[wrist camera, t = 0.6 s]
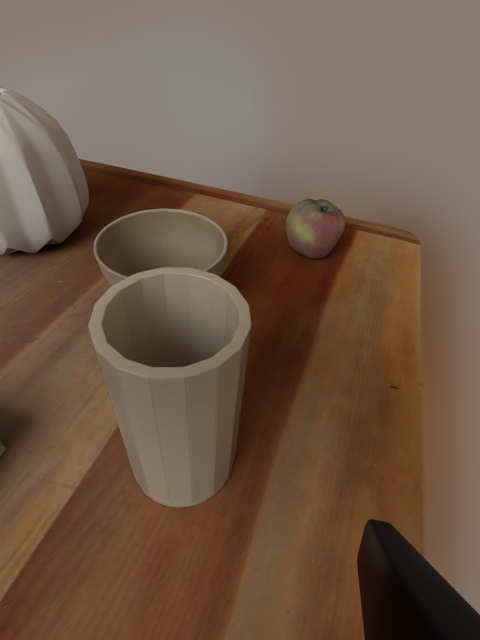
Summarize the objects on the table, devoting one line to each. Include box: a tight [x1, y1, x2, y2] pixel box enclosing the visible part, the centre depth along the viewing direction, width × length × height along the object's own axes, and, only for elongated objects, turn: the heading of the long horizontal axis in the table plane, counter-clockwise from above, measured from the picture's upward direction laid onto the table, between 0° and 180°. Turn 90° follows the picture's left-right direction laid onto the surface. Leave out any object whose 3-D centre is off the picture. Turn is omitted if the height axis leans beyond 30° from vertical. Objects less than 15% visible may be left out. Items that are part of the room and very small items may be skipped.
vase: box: [0, 87, 89, 255], centre depth 36 cm, size 14×14×13 cm
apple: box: [286, 199, 345, 259], centre depth 39 cm, size 6×8×6 cm
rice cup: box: [88, 267, 251, 507], centre depth 20 cm, size 6×6×12 cm
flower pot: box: [94, 209, 228, 286], centre depth 31 cm, size 10×10×7 cm
